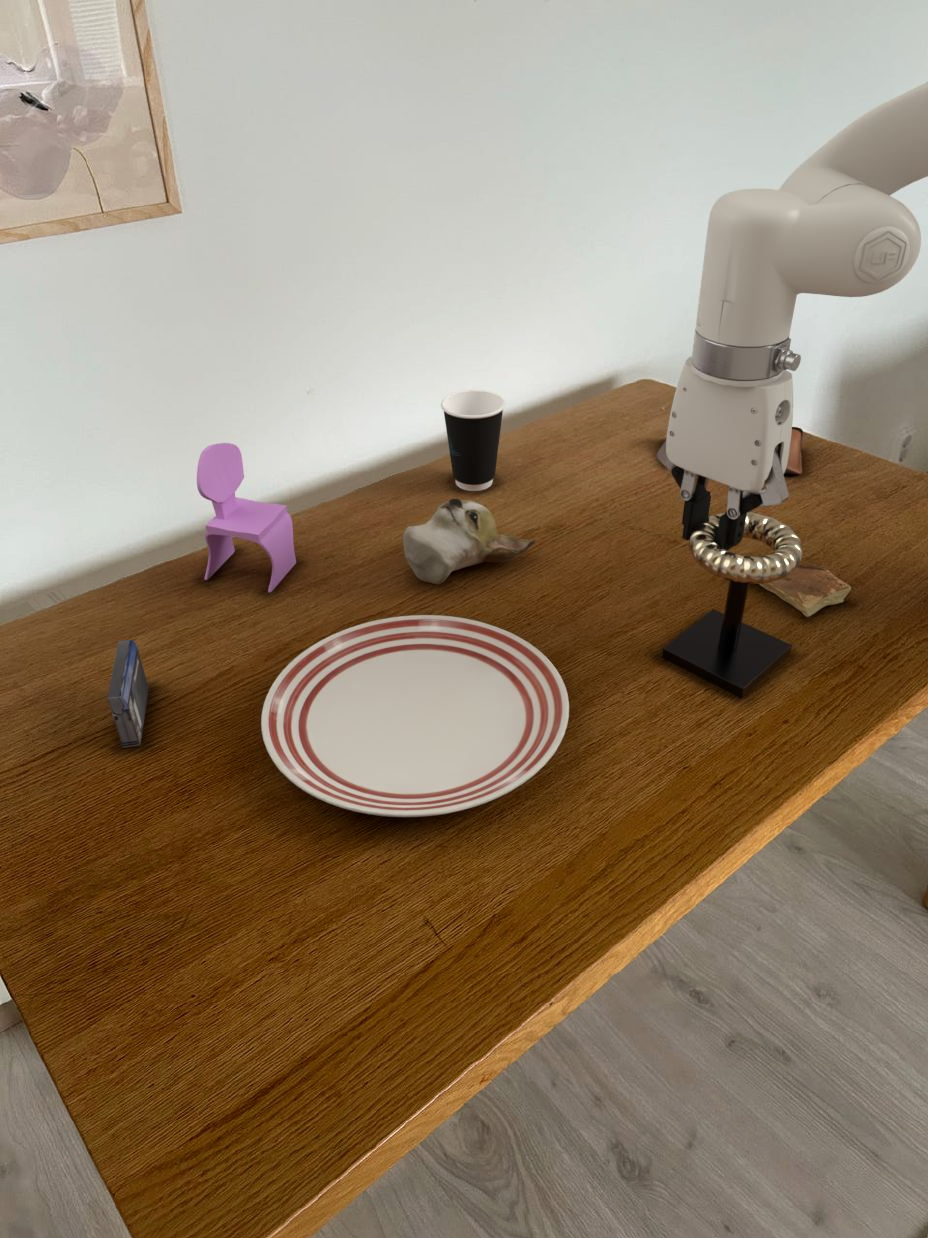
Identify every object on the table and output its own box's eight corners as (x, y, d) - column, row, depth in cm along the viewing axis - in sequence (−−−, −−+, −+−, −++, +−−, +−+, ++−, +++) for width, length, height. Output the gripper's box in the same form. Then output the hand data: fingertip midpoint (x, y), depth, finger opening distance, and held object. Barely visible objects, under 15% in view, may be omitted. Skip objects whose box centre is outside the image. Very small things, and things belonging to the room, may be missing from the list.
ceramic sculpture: (375, 499, 105) (479, 462, 114) (376, 567, 110) (475, 527, 119) (438, 539, 99) (543, 497, 107) (436, 610, 104) (537, 564, 112)
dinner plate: (235, 678, 95) (229, 651, 93) (490, 609, 104) (490, 583, 102) (314, 888, 75) (309, 859, 73) (624, 781, 84) (627, 753, 82)
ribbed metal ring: (820, 554, 90) (825, 532, 89) (763, 603, 85) (768, 580, 83) (725, 517, 96) (729, 495, 95) (666, 560, 90) (669, 538, 89)
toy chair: (270, 598, 106) (249, 475, 97) (199, 585, 108) (173, 463, 100) (304, 558, 112) (288, 439, 103) (236, 546, 115) (215, 429, 106)
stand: (789, 654, 97) (810, 568, 91) (741, 698, 92) (759, 610, 86) (711, 617, 102) (725, 534, 96) (661, 657, 97) (673, 571, 91)
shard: (731, 570, 109) (733, 556, 108) (781, 550, 112) (784, 537, 111) (803, 619, 102) (806, 605, 101) (855, 597, 105) (859, 583, 104)
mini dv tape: (140, 746, 88) (125, 696, 84) (123, 748, 88) (107, 698, 84) (148, 688, 94) (135, 638, 91) (132, 689, 94) (118, 640, 91)
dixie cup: (430, 484, 126) (427, 405, 119) (469, 461, 131) (468, 383, 124) (479, 503, 122) (478, 422, 115) (517, 479, 127) (518, 399, 120)
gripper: (852, 364, 79) (809, 556, 90) (681, 318, 88) (661, 497, 99) (806, 393, 74) (766, 591, 85) (631, 341, 84) (616, 526, 95)
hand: (710, 539), depth 92 cm, fingers closed on ribbed metal ring, 2 cm apart
